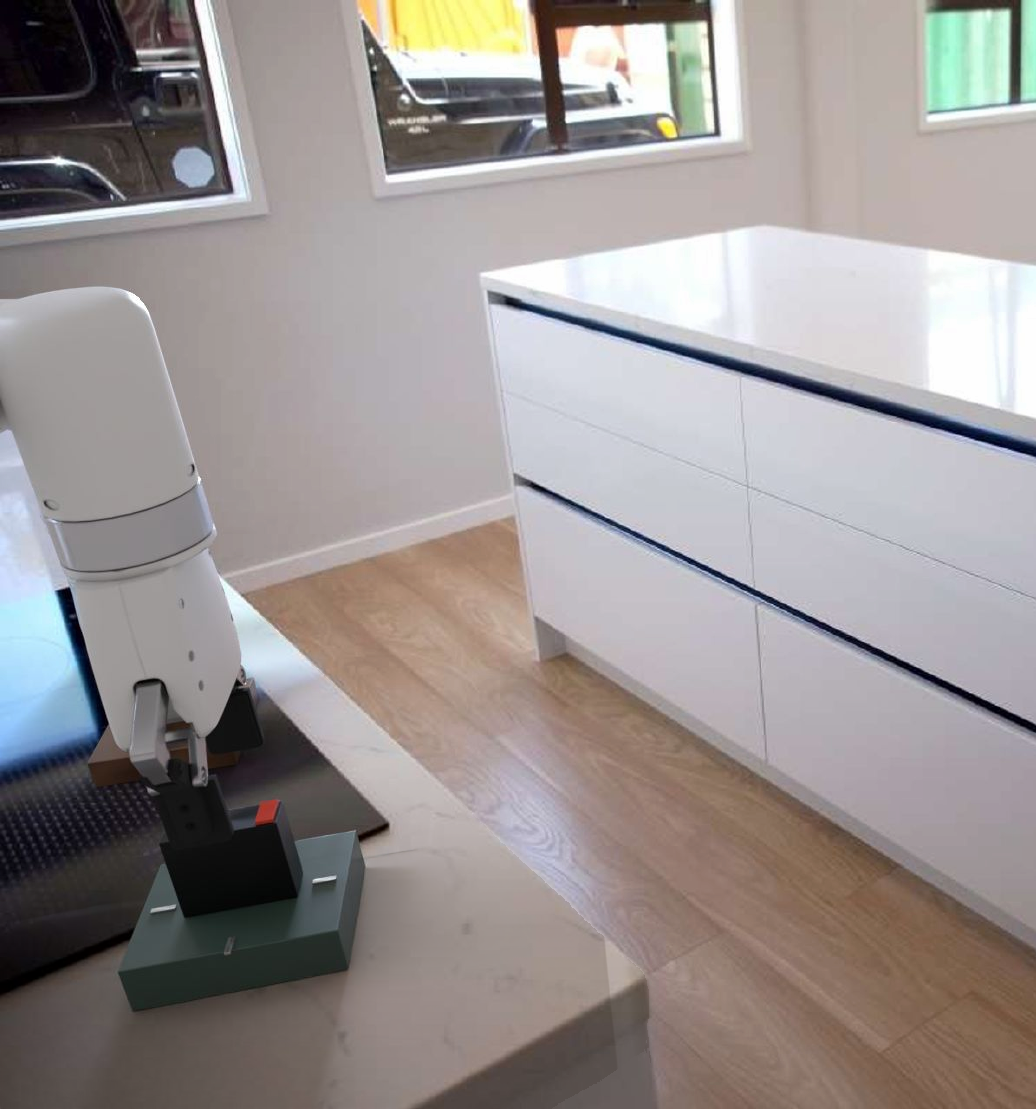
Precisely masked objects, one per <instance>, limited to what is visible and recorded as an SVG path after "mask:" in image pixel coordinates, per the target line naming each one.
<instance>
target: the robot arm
mask: <svg viewBox="0 0 1036 1109" xmlns="http://www.w3.org/2000/svg"><path fill="white" fill-rule="evenodd" d="M7 431H11V433H12V436H13V438H14V441H15V444H16V446H17V449H18V452H19V455H20V457H21V460H22V463H23V465H24V469H25V471H26V474H27V476H28V479H29V482H30V484H31V487H32V489H33V492H34V495H35V498H36V501H37V504H38V503H39V504H38V507H39V506H40V508H41V511H42V514H43V517H44V520H45V523H46V525H47V528H48V531H49V533H48V535H49V536H50V539H51V542H52V544H53V547H54V550H55V553H56V556H57V558H58V561H59V564H60V567H61V569H62V572H63V574H64V575H65V577H66V576H68V577H69V578H72V579H75V580H76V583H75V592H76V599H77V605H78V611H79V617H80V621H81V626H82V630H81V632H82V631H83V633H82V636H83V640H84V643H85V648H86V651H87V655H88V658H89V662H90V666H91V669H92V673H93V675H94V676H93V677H94V679H95V683H96V686H97V689H98V692H99V695H100V700H101V702H102V706H103V709H104V712H105V715H106V719H107V721H108V725H110V728H111V731H112V734H113V737H114V740H115V742H116V744H117V745H118V747H119V748H121V749H122V750H124V751H129V756H130V760H131V762H132V764H133V765H134V766H135V767H136V769H137V770H138V771H139V773H140V774H141V776H140V777H139V778H140V780H139V781H140V782H142V783H143V785H144V786H145V787H146V791H147V793H148V795H149V796H150V797H152V799H153V801H154V804H155V807H156V809H157V813H158V816H159V818H160V821H161V823H162V826H163V829H164V830H165V832H166V834H167V837H168V840H169V843H170V845H171V847H172V848H173V849H175V850H182V849H187V848H193V847H198V846H203V845H209V844H214V843H219V842H224V841H228V840H230V839H231V838H232V835H233V832H234V827H233V824H232V821H231V818H230V815H229V812H228V810H229V808H228V807H227V806H228V805H227V804H226V801H225V798H224V795H223V791H222V789H221V785H220V782H219V780H218V779H219V778H218V776H217V774H211V775H209V769H208V768H207V755H206V744H207V747H208V750H209V752H210V753H211V754H214V755H218V754H223V753H229V752H234V751H240V750H242V751H244V750H251V749H256V748H260V747H262V746H263V744H264V742H265V734H264V730H263V727H262V724H261V721H260V717H259V715H258V711H257V709H256V708H255V704H254V701H253V698H252V695H251V691H250V688H249V687H245V688H239V687H240V686H245V685H246V681H247V673H246V669H245V668H244V666H243V665H242V649H241V644H240V639H239V635H238V634H239V633H238V632H237V627H236V624H235V620H234V617H233V613H232V610H231V607H230V605H229V601H228V598H227V596H226V592H225V590H224V587H223V583H222V581H221V578H220V576H219V573H218V571H217V568H216V565H215V562H214V559H213V557H212V555H211V551H210V550H209V548H210V547H211V546H212V545H213V544H214V543H215V541H216V539H217V537H218V532H217V529H216V526H215V523H214V520H213V517H212V516H213V515H212V512H211V510H210V506H209V503H208V500H207V496H206V494H205V490H204V486H203V482H202V480H201V478H200V474H199V471H198V468H197V465H196V461H195V458H194V455H193V452H192V448H191V444H190V441H189V437H188V434H187V430H186V428H185V424H184V421H183V417H182V413H181V410H180V408H179V404H178V400H177V397H176V394H175V391H174V388H173V385H172V382H171V378H170V375H169V371H168V368H167V365H166V362H165V358H164V355H163V352H162V348H161V345H160V341H159V338H158V336H157V331H156V329H155V325H154V323H153V320H152V317H151V315H150V312H149V310H148V309H147V307H146V306H145V304H144V303H143V302H142V301H141V300H140V298H139V297H138V296H136V295H135V294H134V293H132V292H129V291H128V290H125V289H123V288H118V287H113V286H112V287H110V286H85V287H76V288H75V287H73V288H64V289H58V290H52V291H46V292H41V293H36V294H32V295H27V296H25V297H20V298H0V434H2V433H4V432H7ZM180 721H185V722H186V723H190V728H185V729H179V730H173V731H167V732H166V724H169V723H174V722H180ZM205 741H206V742H205ZM185 743H188V750H189V763H190V764H188V763H186V762H184V761H183V760H181V759H179V758H173V759H171V758H170V752H169V751H168V749H167V747H168V746H173V745H179V744H185Z"/></svg>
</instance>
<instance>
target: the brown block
mask: <svg viewBox="0 0 1036 1109" xmlns="http://www.w3.org/2000/svg"><path fill="white" fill-rule="evenodd" d="M246 679H247V681H246V685H245V686H240V687H239V688H245V687H249V688H250V691H251V695H252V698H253V701H254V704H255V708H256V710H257V709H258V706H259V703H260V696H259V691H258V688H257V685H256V681H255V678H254V677H248V678H247V677H246ZM185 728H190V723H186V722H185V721H180V722H174V723H169V724H166V732H167V731H173V730H179V729H185ZM205 742H206V741H205ZM167 749H168V751H169V752H170V758H171V759H173V758H179V759H181V760H183V761H184V762H186V763H188V764H190V763H189V750H188V743H185V744H179V745H173V746H168V747H167ZM242 751H243V750H240V751H234V752H229V753H223V754H218V755H214V754H211V753H210V752H209V750H208V747H207V744H206V755H207V768H208V770H210V769H217V768H222V767H229V766H234V765H237V764H238V761H239V759H240V756H241V753H242ZM86 765H87V767H88V770H89V773H90V776H91V778H92V782H93V784H94V787H95V788H99V787H107V786H113V785H119V784H125V783H130V782H138V781H141V780H140V778H139V777H140V776H141V774H140V773H139V771H138V770H137V769H136V767H135V766H134V765H133V764H132V762H131V760H130V756H129V751H124V750H122V749H121V748H119V747H118V745H117V744H116V742H115V740H114V737H113V734H112V731H111V728H110V725H109V724H108V725H107V727H106V728H105V730H104V732H103V734H102V736H101V738H100V739H99V741H98V743H97V745H96V747H95V748H94V750H93V752H92V753H91V756H90V758H89V759H88V760H87V763H86Z"/></svg>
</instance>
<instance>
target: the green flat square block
mask: <svg viewBox="0 0 1036 1109" xmlns="http://www.w3.org/2000/svg"><path fill="white" fill-rule="evenodd" d="M357 832H358V831H356V830H351V831H345V832H339V833H334V834H328V835H322V836H317V837H311V838H305V839H299V840H294V841H295V845H296V848H297V852H298V856H299V859H300V863H301V866H302V870H303V877H302V881H301V885H300V889H299V894H298V897H296V898H290V899H285V900H279V901H274V902H268V903H263V904H258V905H252V906H247V907H241V908H236V909H230V910H225V911H219V912H214V913H208V914H203V915H198V916H192V917H187V918H184V916H183V913H182V910H181V908H180V905H179V902H178V899H177V896H176V893H175V890H174V887H173V884H172V881H171V878H170V875H169V872H168V869H167V866H166V863H163V864H160V866H159V868H158V871H157V873H156V876H155V878H154V880H153V883H152V886H151V888H150V890H149V893H148V895H147V898H146V899H145V903H144V904H143V908H142V910H141V912H140V915H139V918H138V920H137V923H136V925H135V927H134V929H133V932H132V935H131V938H130V940H129V942H128V945H127V946H126V947H127V948H126V949H125V951H124V952H125V953H124V955H123V957H122V959H121V963H120V965H119V967H118V970H117V974H118V978H119V980H120V982H121V985H122V988H123V991H124V993H125V996H126V998H127V1001H128V1004H129V1006H130V1010H131V1011H132V1012H137V1011H141V1010H146V1009H151V1008H157V1007H162V1006H167V1005H173V1004H178V1003H183V1002H187V1001H193V1000H198V999H203V998H208V997H214V996H218V995H219V996H220V995H224V994H230V993H234V992H240V991H244V990H250V989H256V988H259V987H264V986H269V985H275V984H280V983H286V982H291V981H296V980H300V979H306V978H312V977H317V976H320V975H327V974H332V973H335V972H336V973H337V972H342V971H346V970H347V971H348V970H349V968H350V961H351V955H352V950H353V943H354V937H355V931H356V925H357V919H358V913H359V907H360V903H361V902H360V901H361V896H362V890H363V883H364V877H365V871H366V862H365V859H364V855H363V851H362V848H361V842H360V841H359V836H358V833H357Z"/></svg>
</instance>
